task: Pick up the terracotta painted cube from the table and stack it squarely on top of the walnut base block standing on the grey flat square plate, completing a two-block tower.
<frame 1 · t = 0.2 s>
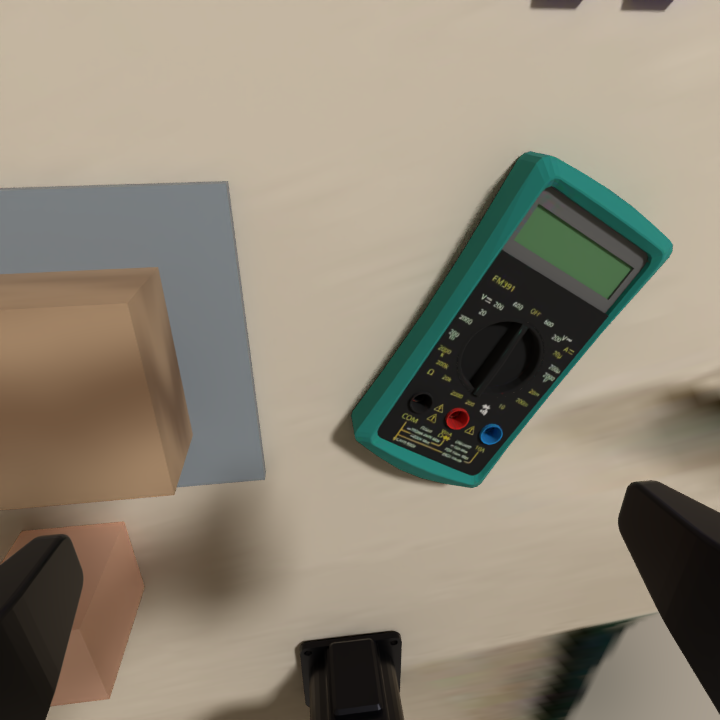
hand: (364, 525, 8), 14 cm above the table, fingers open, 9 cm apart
walnut base block: (78, 364, 21), point 1 cm above the table, touching grey flat square plate
digital multimeter: (485, 326, 24), on the table
terracotta cube: (86, 559, 27), on the table
grey flat square plate: (84, 358, 21), on the table
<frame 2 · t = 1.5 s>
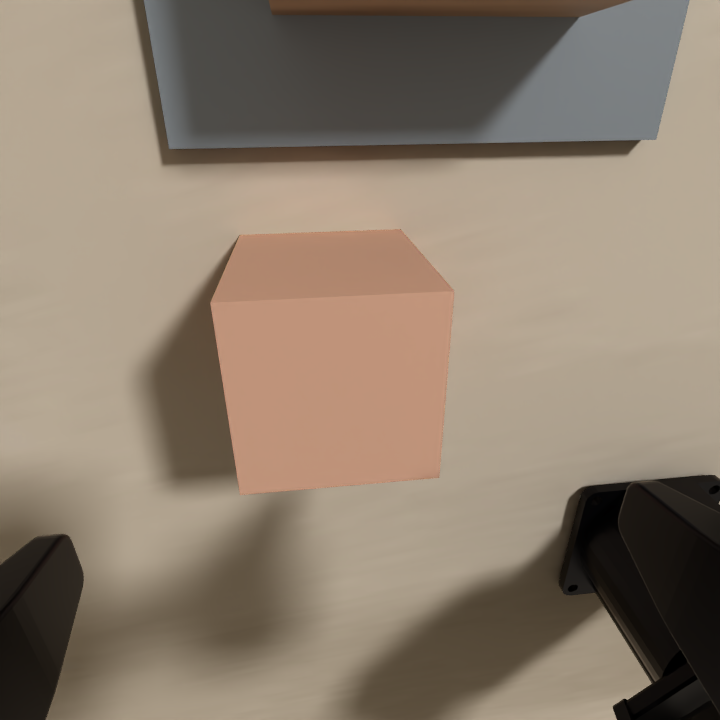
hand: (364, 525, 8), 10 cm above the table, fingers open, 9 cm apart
terracotta cube: (324, 307, 17), on the table
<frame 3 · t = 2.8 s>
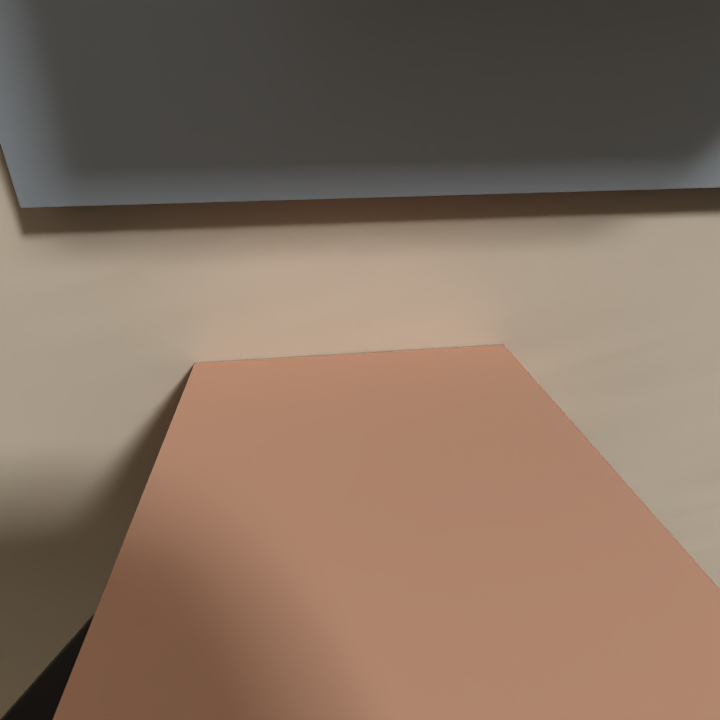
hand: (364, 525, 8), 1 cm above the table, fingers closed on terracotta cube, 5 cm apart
terracotta cube: (356, 475, 9), on the table, touching gripper
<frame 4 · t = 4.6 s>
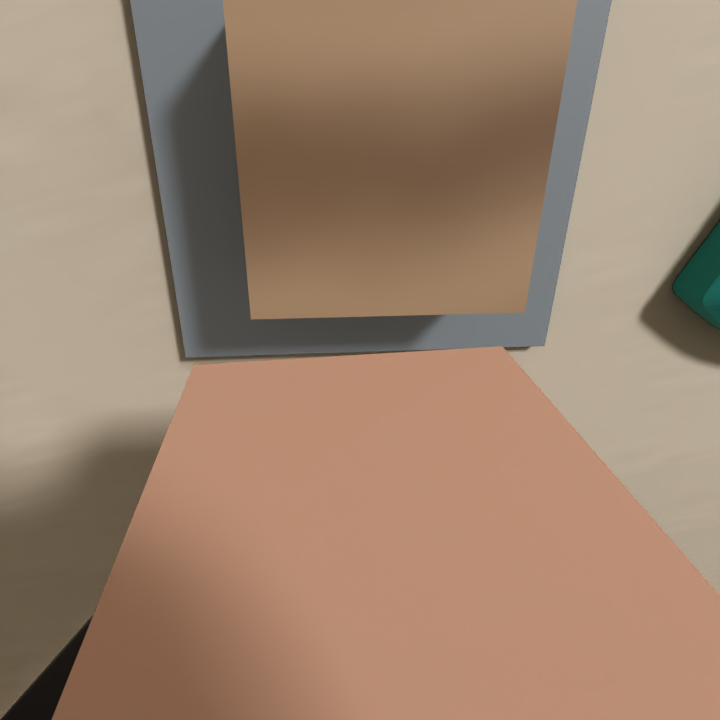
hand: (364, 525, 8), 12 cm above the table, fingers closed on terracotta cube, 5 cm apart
walnut base block: (376, 156, 16), point 1 cm above the table, touching grey flat square plate
terracotta cube: (354, 476, 9), point 11 cm above the table, touching gripper
grey flat square plate: (374, 155, 17), on the table
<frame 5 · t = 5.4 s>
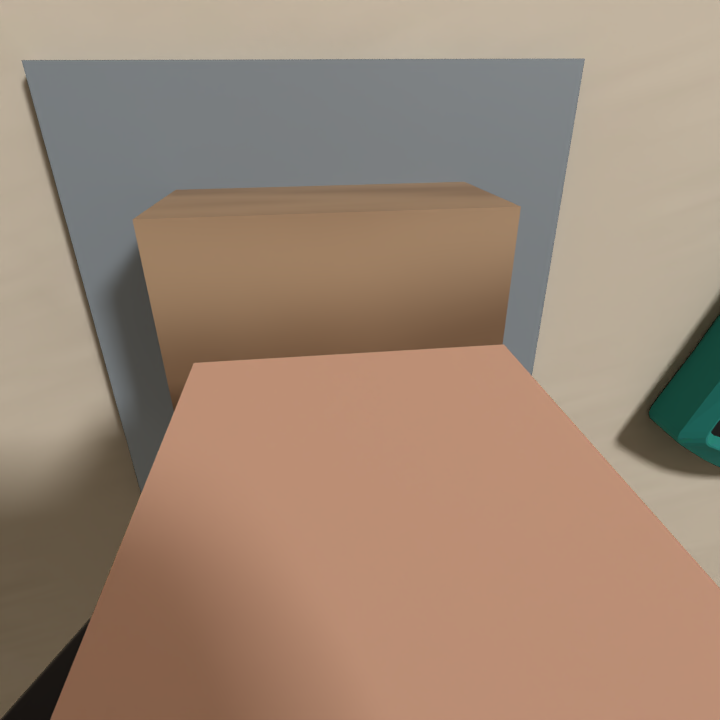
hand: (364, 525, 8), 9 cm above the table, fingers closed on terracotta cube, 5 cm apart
walnut base block: (329, 319, 16), point 1 cm above the table, touching grey flat square plate
terracotta cube: (355, 475, 9), point 8 cm above the table, touching gripper
grey flat square plate: (328, 312, 16), on the table
when the fingers open (7 cm above the table, at t = 6.2 s): terracotta cube stays where it is, resting on walnut base block.
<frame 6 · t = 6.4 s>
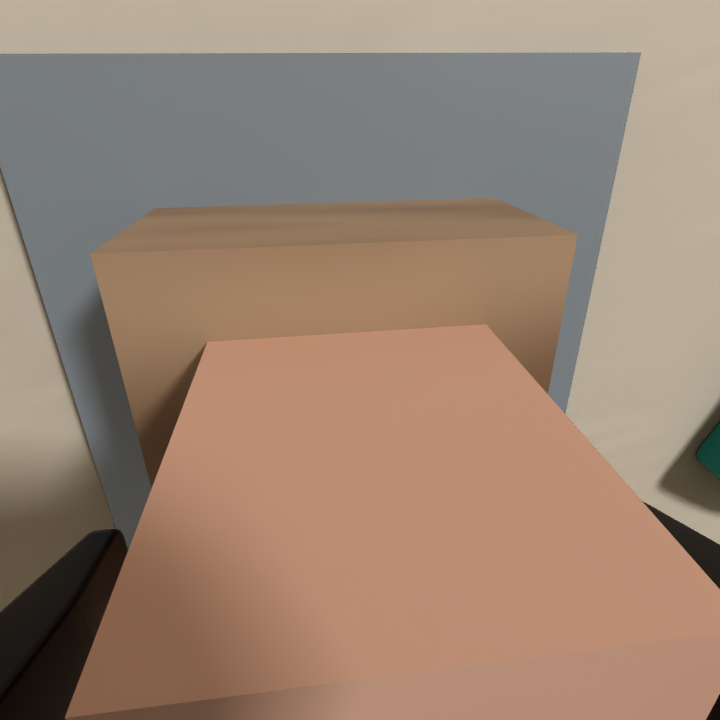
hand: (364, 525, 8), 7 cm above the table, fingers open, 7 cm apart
walnut base block: (336, 354, 13), point 1 cm above the table, touching grey flat square plate, terracotta cube
terracotta cube: (353, 446, 10), point 5 cm above the table, touching walnut base block
grey flat square plate: (334, 345, 14), on the table
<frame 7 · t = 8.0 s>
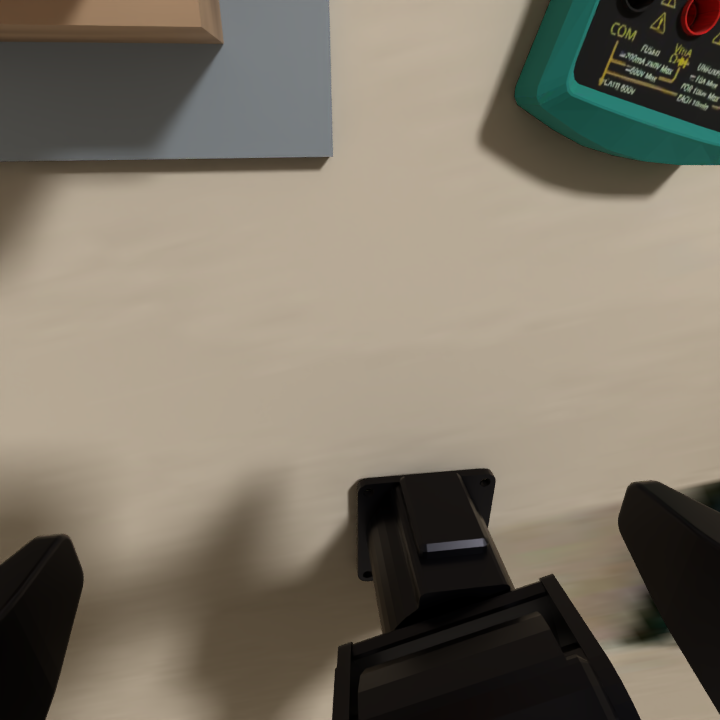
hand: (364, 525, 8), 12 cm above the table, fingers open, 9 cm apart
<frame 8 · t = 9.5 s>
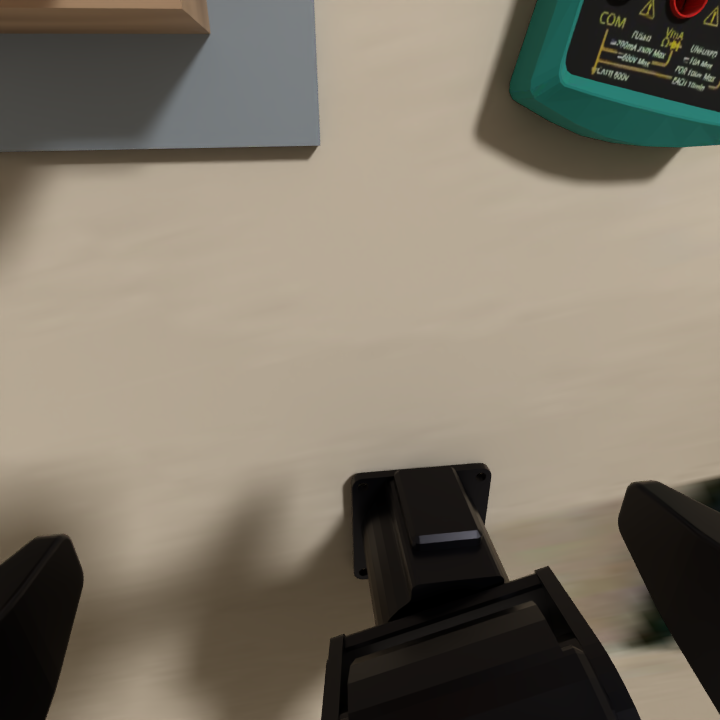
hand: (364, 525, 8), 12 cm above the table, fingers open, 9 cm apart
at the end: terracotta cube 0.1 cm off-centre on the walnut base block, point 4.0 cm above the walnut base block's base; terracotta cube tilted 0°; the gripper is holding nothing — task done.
